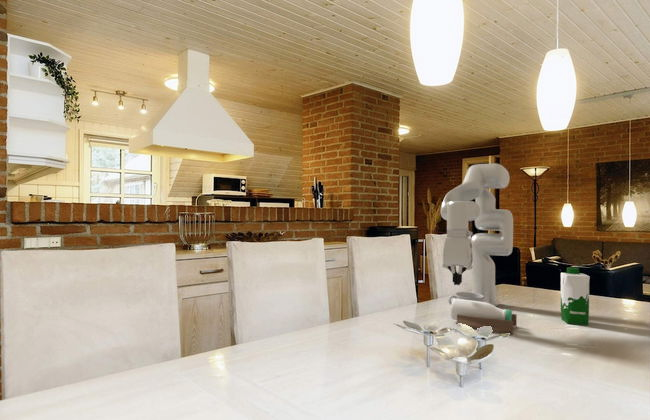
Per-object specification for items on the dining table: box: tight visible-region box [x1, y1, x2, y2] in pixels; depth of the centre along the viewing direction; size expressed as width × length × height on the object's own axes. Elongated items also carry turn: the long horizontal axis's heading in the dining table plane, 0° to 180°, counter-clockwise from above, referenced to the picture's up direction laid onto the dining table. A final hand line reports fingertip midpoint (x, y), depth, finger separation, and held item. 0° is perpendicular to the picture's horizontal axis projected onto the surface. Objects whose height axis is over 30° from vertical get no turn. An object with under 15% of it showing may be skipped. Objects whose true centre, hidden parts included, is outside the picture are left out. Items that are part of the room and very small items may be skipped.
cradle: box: [456, 313, 518, 336], centre depth 150 cm, size 12×18×4 cm
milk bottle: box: [450, 298, 513, 321], centre depth 152 cm, size 8×8×20 cm
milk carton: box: [560, 266, 591, 326], centre depth 158 cm, size 9×9×20 cm
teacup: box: [447, 291, 484, 306], centre depth 170 cm, size 14×11×8 cm
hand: (457, 284), depth 156 cm, fingers closed
